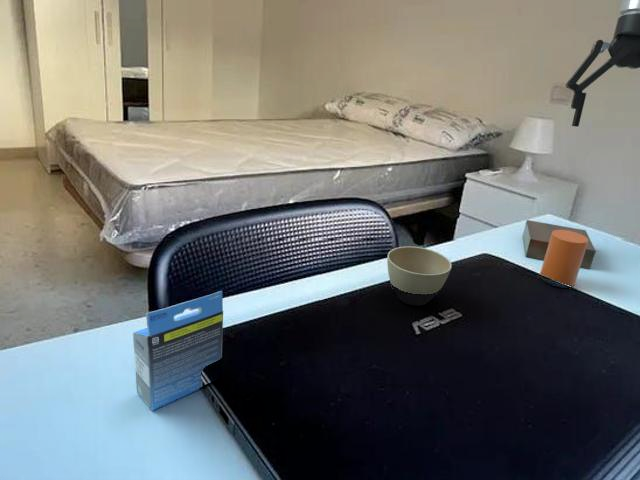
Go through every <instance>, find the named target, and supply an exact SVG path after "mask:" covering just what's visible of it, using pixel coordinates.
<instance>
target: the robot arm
mask: <svg viewBox="0 0 640 480" xmlns="http://www.w3.org/2000/svg"><path fill="white" fill-rule="evenodd" d="M619 14H620V16H619V17H617V22H616V24H615V25H616V26H615V29H614V33H613V37H612V40H611V41H610V42H608V41H607V42H606V41H603V40H602V39H598V40H596V41H594V43H592V47H591V50H590V53H589V54H588V55H587V56H586V57H585V58H584V60H583V61H582V62H581V64H580V65H579V66H578V68H576V70H575V71H574V73H573V74H572V76H571V77H570V78H569V79H568V81H567V82H566V83H565V88H566V89H569V90H571V91H572V92H573V96H572V99H571V104H570V109H572V110H575V111H574V114H573V120H572V123H571V127H576V128H577V127H578V128H579V126H580V123H581V118H582V113H583V109H584V106H585V101H586V97H587V92H583V91H584V90H585V89H586V88H588V87H589V86H590V85H591V84H593V83H594V82H595V81H597V79H599V78H600V77H601V76H602V75H604V74H605V73H606V72H608V71H609V70H610V69H611V68H614V66H615V67H617V68H618V69H622V68H623V69H624V68H628V69H632V70H636V69H639V68H640V0H622V1H621V5H620V9H619ZM605 50H607V51H608V54H609V56H610V58H609V59H607V60H606V61H605V62H604V63H603V64H602V65H600V67H598V68H597V69H595V71H594V72H592V73H591V74H590V75H588V76H587V77H586V78H585V79H584V80H582V81H581V82H580V83H579V84H578V81H579V80H580V79H581V78H582V76H583V75H584V74H585V73H586V71H587V70H588V69H589V68H590V66H592V63H593V62H594V61H595V60H596V59H597V57H598V56H599V55H600V54H603V53H604V52H605Z"/></svg>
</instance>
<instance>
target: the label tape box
mask: <svg viewBox="0 0 640 480" xmlns="http://www.w3.org/2000/svg"><path fill="white" fill-rule="evenodd" d="M223 297H224V296H223V290H220V291H217V292H214V293H211V294H208V295H204V296H201V297H198V298H194V299H191V300H187V301H184V302H181V303H177V304H175V305H171V306H167V307H165V308H161V309H157V310H153V311H148V312H146V313H145V319H146V327H145V328H143V329H139V330H136V331H134V332H133V333H132V339H133V353H134V369H135V384H136V393H137V395H138V396H139V397H140V398H141V400H142V401H143V402H144V403H145V405H146V406H147V408H149V410H150V411H155V410H157V409H159V407H160V408H162V407H164V406H166V405H168V404H170V403H172V402H174V401H177V400H179V399H181V398H183V397H186V396H187V395H190V394H192V393H194V392H197V391H198V390H200V389H199V388H200V387H201V372H202V370H203V369H204V368H205V367H206V366H208V365H210V364H212V363H214V362H216V361H218V360H220V359H221V358H223V335H224V333H223V331H224V329H223V328H224V310H223V309H224V308H223ZM186 310H188V311H193V312H189V313H187V314H184V312H185V311H186ZM194 310H195V311H194ZM181 314H184V315H181ZM178 315H180V316H178ZM176 316H178V317H176ZM176 399H177V400H176ZM161 406H162V407H161Z"/></svg>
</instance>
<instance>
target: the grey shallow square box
mask: <svg viewBox="0 0 640 480" xmlns="http://www.w3.org/2000/svg"><path fill="white" fill-rule="evenodd" d="M554 230H568V231H572V232H576V233H579V234H581V235H583V236H585V237H587V238H588V240H589V241H588V244H587V247H586V250H585V254H584V257H583V260H582V263H581V266H580V269H587V270H590V269H591V266H592V265H593V260H594V258H595V255H596V248H595V246H594V244H593V242H592V241H591V238H590V236H589V234H588V233H587V230H585V229H581V228H577V227H576V228H575V227H569V226H564V225H559V224H553V223H547V222H541V221H536V220H530V219H526V221H525V225H524V228H523V232H522V233H523V234H522V243H523V249H524V256H525V258H530V259H535V260H540V261H544V258H545V255H546V251H547V248H548V244H549V241H550V237H551V234H552V231H554Z"/></svg>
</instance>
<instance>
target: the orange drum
mask: <svg viewBox="0 0 640 480" xmlns="http://www.w3.org/2000/svg"><path fill="white" fill-rule="evenodd" d="M588 241H589V240H588V238H587V237H585V236H583V235H581V234H579V233H576V232H572V231H568V230H554V231H552V234H551V237H550V241H549V244H548V248H547V251H546V255H545V258H544V260H543V262H542V265H541V269H540V272H539V275H540V274H541V275H543V276H546V277H548V278H550V279H553V280H555V281H558V282H560V283H563V284H566V285H569V286H571V287H573V288H574V287H575V284H576V282H577V278H578V275H579V272H580V269H581V267H580V266H581V263H582V260H583V257H584V254H585V250H586V247H587V244H588Z"/></svg>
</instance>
